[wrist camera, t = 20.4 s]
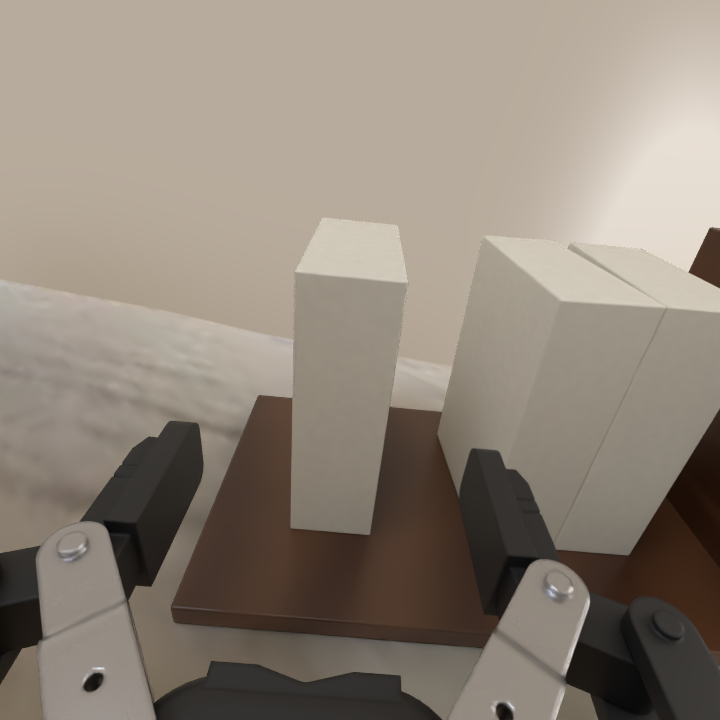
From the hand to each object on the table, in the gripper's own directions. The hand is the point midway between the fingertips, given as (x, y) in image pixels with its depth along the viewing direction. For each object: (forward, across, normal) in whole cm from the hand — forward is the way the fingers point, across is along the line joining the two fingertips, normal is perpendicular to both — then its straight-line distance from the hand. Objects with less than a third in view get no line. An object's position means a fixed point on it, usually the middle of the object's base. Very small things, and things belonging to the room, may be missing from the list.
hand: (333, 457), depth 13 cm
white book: (+7, -12, +8) cm, 16 cm away
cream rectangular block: (+7, -8, +8) cm, 13 cm away
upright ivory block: (+7, 0, +8) cm, 11 cm away
